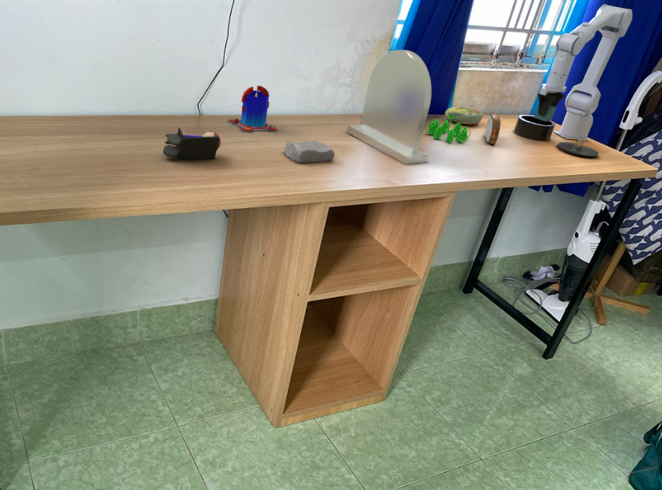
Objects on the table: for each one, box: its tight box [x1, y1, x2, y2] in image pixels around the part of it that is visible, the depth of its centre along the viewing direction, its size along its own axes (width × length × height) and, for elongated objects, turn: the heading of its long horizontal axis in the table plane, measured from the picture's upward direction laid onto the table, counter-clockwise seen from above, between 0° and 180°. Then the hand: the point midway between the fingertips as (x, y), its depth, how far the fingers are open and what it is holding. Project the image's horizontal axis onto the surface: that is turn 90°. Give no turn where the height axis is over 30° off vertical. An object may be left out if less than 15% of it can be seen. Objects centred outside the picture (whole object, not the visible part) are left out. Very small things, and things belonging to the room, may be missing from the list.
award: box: [346, 49, 432, 165], centre depth 180 cm, size 28×9×28 cm, turn 32°
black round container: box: [513, 114, 556, 142], centre depth 221 cm, size 13×13×5 cm
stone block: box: [284, 141, 335, 164], centre depth 168 cm, size 12×5×10 cm
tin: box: [484, 112, 502, 145], centre depth 207 cm, size 15×3×8 cm, turn 168°
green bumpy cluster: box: [424, 116, 471, 144], centre depth 203 cm, size 15×15×7 cm
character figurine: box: [162, 127, 222, 161], centre depth 155 cm, size 8×7×15 cm
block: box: [534, 104, 557, 121], centre depth 208 cm, size 4×4×4 cm
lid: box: [556, 137, 600, 158], centre depth 210 cm, size 14×14×5 cm
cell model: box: [444, 106, 484, 125], centre depth 223 cm, size 11×8×15 cm
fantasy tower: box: [229, 84, 278, 133], centre depth 184 cm, size 12×12×12 cm
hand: (544, 114), depth 209 cm, fingers closed on block, 4 cm apart
